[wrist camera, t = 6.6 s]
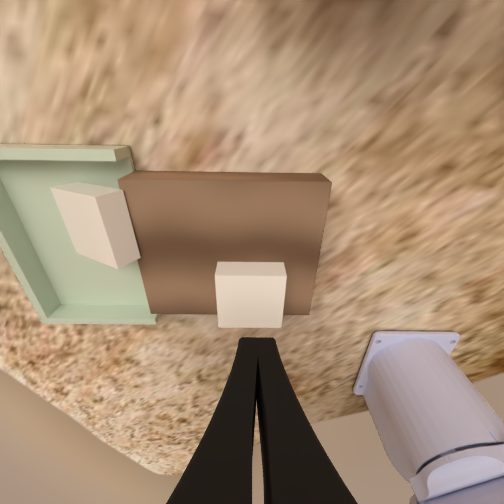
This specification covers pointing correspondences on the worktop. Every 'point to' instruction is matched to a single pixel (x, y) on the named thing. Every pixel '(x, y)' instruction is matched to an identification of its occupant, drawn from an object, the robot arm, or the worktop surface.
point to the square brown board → (224, 232)
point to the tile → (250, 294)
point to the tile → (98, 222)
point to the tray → (64, 236)
